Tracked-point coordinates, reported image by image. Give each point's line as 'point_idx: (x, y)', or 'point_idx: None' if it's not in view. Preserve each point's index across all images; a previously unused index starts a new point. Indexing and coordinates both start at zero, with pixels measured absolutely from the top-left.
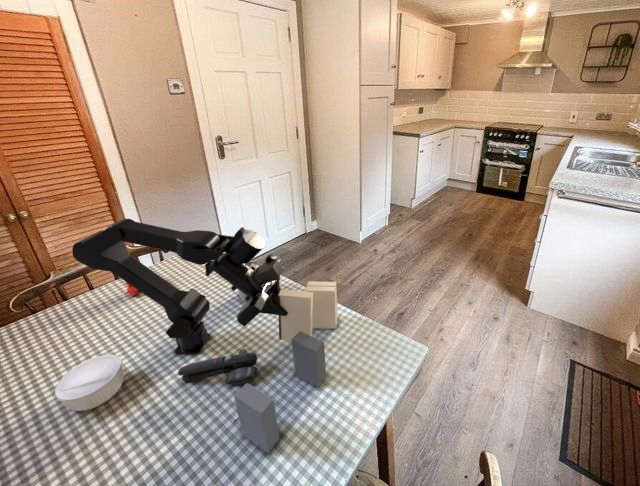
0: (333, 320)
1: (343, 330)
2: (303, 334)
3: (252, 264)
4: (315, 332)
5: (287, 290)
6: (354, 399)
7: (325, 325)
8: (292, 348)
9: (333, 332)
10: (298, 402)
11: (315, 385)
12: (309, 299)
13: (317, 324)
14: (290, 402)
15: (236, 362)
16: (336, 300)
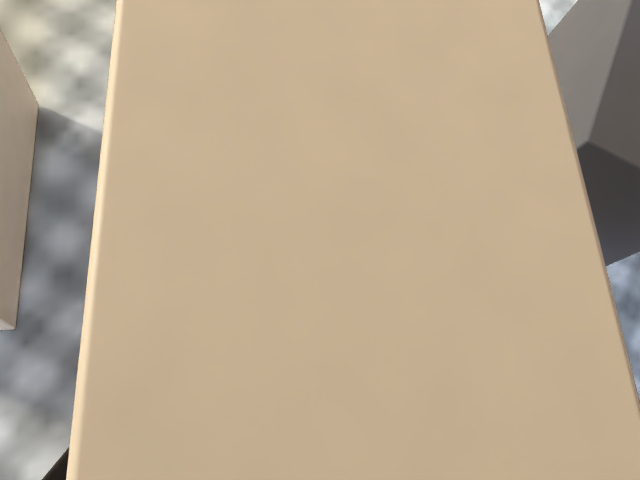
0: (12, 69)
1: (61, 53)
2: (625, 95)
3: None
4: (72, 257)
5: (148, 301)
6: (550, 4)
7: (22, 166)
8: (633, 253)
9: (80, 120)
10: (626, 260)
11: None
12: None
13: (11, 229)
14: (637, 304)
15: None
16: None
